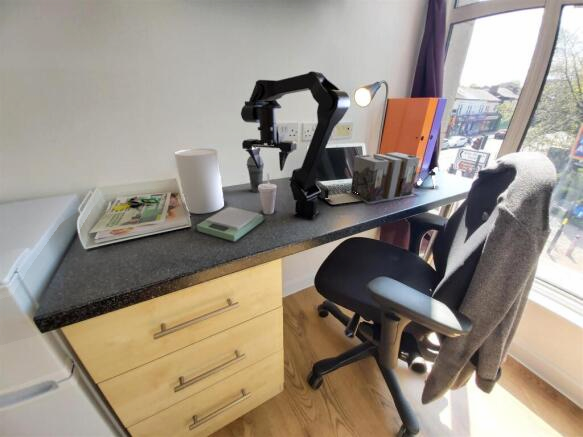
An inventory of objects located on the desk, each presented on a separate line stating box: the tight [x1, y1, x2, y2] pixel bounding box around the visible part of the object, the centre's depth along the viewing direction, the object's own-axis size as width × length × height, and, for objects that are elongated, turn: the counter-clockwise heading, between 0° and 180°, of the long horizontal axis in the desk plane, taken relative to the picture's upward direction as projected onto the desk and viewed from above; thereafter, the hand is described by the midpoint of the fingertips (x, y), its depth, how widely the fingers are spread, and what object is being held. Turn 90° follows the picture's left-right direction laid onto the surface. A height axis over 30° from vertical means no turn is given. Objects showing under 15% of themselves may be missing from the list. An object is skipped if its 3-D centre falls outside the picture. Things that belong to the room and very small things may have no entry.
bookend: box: [345, 151, 421, 205], centre depth 98 cm, size 16×25×16 cm, turn 113°
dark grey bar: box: [316, 180, 332, 202], centre depth 98 cm, size 5×3×15 cm
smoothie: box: [258, 173, 278, 215], centre depth 81 cm, size 6×6×14 cm
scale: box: [196, 206, 264, 243], centre depth 74 cm, size 14×15×3 cm
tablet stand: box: [415, 167, 439, 190], centre depth 109 cm, size 9×8×8 cm
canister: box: [174, 147, 225, 215], centre depth 84 cm, size 14×14×20 cm
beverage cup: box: [246, 155, 265, 193], centre depth 101 cm, size 7×7×20 cm
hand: (270, 169), depth 86 cm, fingers open, 9 cm apart
